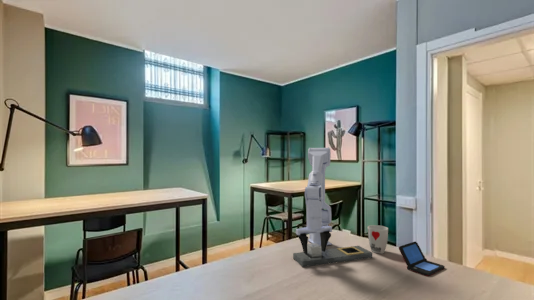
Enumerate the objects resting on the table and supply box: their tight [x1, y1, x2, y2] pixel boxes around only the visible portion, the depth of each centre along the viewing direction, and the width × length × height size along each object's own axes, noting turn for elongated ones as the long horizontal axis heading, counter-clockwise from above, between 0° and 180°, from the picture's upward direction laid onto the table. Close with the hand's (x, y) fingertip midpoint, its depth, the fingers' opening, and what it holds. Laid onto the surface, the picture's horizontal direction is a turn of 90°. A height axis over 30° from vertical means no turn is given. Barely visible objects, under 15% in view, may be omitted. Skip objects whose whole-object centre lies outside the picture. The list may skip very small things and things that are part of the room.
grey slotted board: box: [292, 245, 373, 268], centre depth 111 cm, size 9×30×2 cm, turn 107°
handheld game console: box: [398, 241, 445, 277], centre depth 101 cm, size 12×11×7 cm
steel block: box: [307, 243, 322, 259], centre depth 109 cm, size 4×4×6 cm
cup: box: [367, 224, 389, 254], centre depth 118 cm, size 8×8×10 cm
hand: (314, 251), depth 109 cm, fingers open, 7 cm apart
